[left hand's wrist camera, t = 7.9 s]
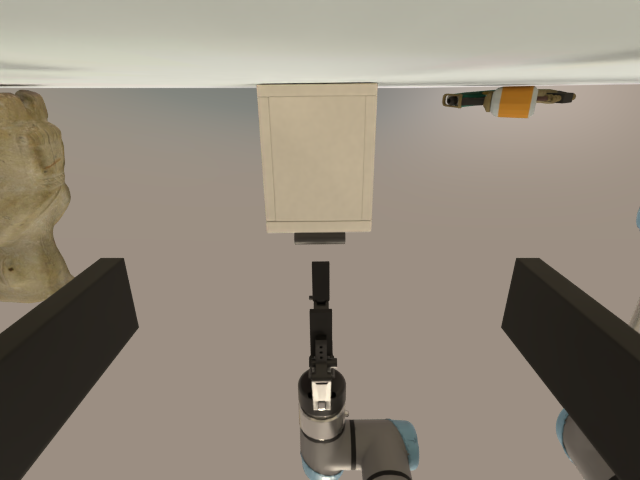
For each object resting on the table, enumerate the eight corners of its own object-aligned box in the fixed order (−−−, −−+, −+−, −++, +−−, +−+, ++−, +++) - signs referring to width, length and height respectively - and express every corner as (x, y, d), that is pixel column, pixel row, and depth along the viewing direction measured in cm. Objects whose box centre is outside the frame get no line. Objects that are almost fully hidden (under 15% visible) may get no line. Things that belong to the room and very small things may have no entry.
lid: (355, 179, 48) (353, 237, 51) (283, 180, 48) (286, 237, 51) (371, 221, 33) (368, 299, 36) (265, 222, 33) (271, 300, 36)
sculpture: (-129, 90, 21) (-30, 316, 26) (4, 88, 21) (73, 313, 26) (-39, 90, 26) (27, 278, 32) (65, 89, 26) (112, 276, 32)
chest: (358, 85, 43) (355, 180, 47) (277, 86, 43) (282, 181, 47) (377, 83, 28) (371, 220, 33) (256, 84, 28) (265, 221, 33)
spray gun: (584, 80, 56) (489, 79, 67) (540, 88, 47) (437, 86, 57) (577, 109, 58) (485, 104, 68) (533, 123, 48) (434, 115, 59)
